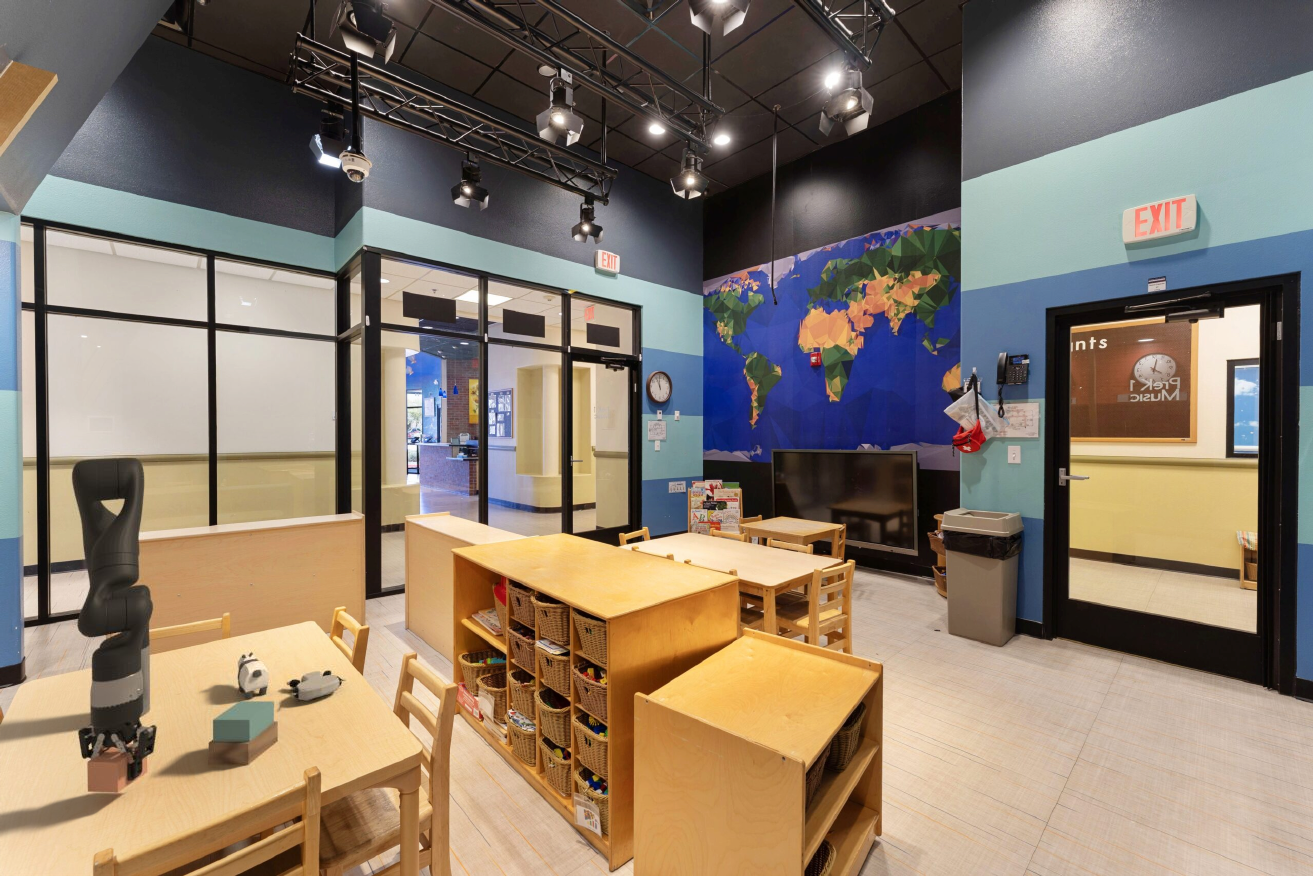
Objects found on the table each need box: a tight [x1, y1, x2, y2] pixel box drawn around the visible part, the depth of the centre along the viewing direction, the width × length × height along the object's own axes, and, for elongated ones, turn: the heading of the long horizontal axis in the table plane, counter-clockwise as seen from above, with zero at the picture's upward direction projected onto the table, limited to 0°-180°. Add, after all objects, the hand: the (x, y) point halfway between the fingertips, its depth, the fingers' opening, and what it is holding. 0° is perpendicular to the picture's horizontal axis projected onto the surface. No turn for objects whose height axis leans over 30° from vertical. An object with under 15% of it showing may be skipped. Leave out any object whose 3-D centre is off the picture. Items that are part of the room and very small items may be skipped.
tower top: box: [212, 700, 275, 742], centre depth 124 cm, size 8×8×5 cm
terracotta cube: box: [87, 743, 148, 794], centre depth 109 cm, size 6×6×6 cm
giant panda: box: [237, 652, 270, 701], centre depth 153 cm, size 15×6×10 cm, turn 50°
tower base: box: [208, 720, 279, 766], centre depth 124 cm, size 9×9×5 cm
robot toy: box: [286, 670, 347, 702], centre depth 152 cm, size 12×4×15 cm
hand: (118, 777), depth 109 cm, fingers closed on terracotta cube, 6 cm apart
